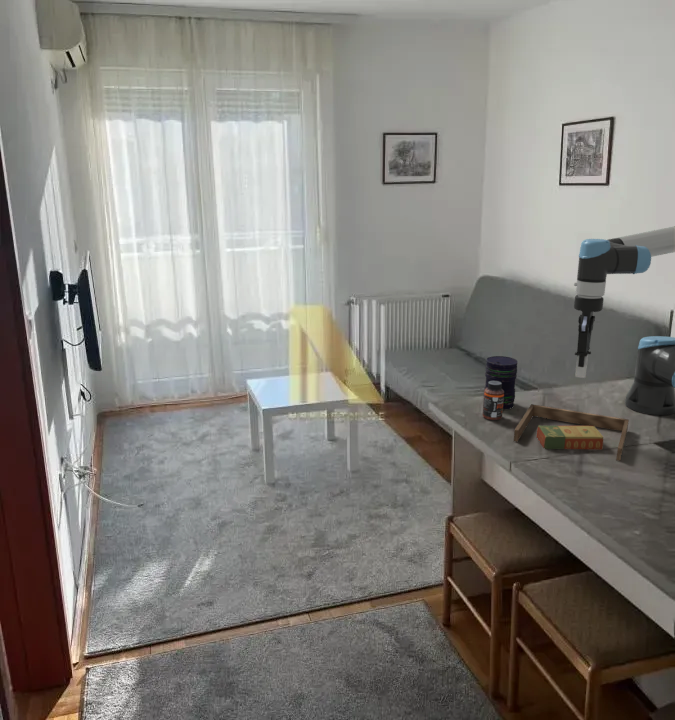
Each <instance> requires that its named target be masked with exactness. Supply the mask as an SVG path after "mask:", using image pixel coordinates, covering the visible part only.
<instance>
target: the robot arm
mask: <svg viewBox="0 0 675 720" xmlns="http://www.w3.org/2000/svg"><path fill="white" fill-rule="evenodd" d="M672 253H675V226H669V227H665V228H659V229H654V230H650V231H645V232H639V233H634V234H630V235H625V236H620V237H615V238H609V239H605V238H604V239H602V238H586V239H584V240H582V241H581V244H580V248H579V254H578V265H577V276H576V277H577V278H576V282H574V284H573V286H575V287H576V288H575V294H576V295H575V297H574V303H573V308H574V309H575V310H576V311H580V312H581V314H579V315H580V316H578V321H577V322H578V326H577V327H578V329H577V330H578V336H577V351H576V352H575V353H574V355H575V356H577V357H576V364H575V365H576V366H575V371H574V372H575V374H574V377H575V378H581V379H586V377H587V375H586V374H587V366H588V359H589V355H592V352H591V351H590V349H591V348H590V347H591V346H590V345H591V338H592V332H593V329H594V323H595V319H596V315H594V313H598V312H601V311H603V307H604V297H603V296H605V293H606V285H607V283H606V282H607V275H614V274H615V275H624V274H625V275H628V274H629V275H630V274H631V275H635V274H643V273H646V272H647V271H648V270H649V268H650V267H651V264H652V263H651V262H652V257H657V256H662V255H666V254H667V255H668V254H672ZM624 400H625V401H624V404H625V406H626V407H627V408H629V409H630V410H633V411H634V412H638V413H642V414H647V415H653V416H668V415H673V414H675V337H674V336H665V335H664V336H660V335H655V336H653V335H652V336H651V335H650V336H644V337H642V338H641V339H640V340H639V343H638V346H637V356H636V362H635V370H634V379H633V382H632V385H631V386H630V388H629V390H628V392H627V394H626V396H625V399H624Z"/></svg>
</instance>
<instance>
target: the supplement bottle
mask: <svg viewBox="0 0 675 720" xmlns="http://www.w3.org/2000/svg"><path fill="white" fill-rule="evenodd" d="M501 387H502V383H501V382H499V381H489V382H488V388H486V389H485V391H484V390H483V402H484V403H483V405H482V417H483V418H484V419H486V420H490V421H498V420H501V419H502V418H503V411H504V410H503V401H504V390H503V389H502V388H501Z"/></svg>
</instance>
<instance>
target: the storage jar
mask: <svg viewBox="0 0 675 720" xmlns="http://www.w3.org/2000/svg"><path fill="white" fill-rule="evenodd" d="M485 362H486V363H485V369H484V371H485V373H484V375H485V385H484V389H483V392H484V391H485V389H486V388H488V382H489V381H499V382H501V383H502V387H501V388H502V389H503V390H504V401H503V409H508V410H511V409H513V408H514V407H513V406H515V403H514V402H515V400H516V399H515V397H516V389H515V387H516V379H517V377H518V376H517V373H518V360H517V359H516V358H513V357H510V356H502V355H495V356H489V357H487V358H486V361H485ZM483 403H484V401H483ZM512 407H513V408H512ZM510 408H511V409H510Z"/></svg>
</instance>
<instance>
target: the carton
mask: <svg viewBox="0 0 675 720" xmlns="http://www.w3.org/2000/svg"><path fill="white" fill-rule="evenodd" d="M536 430H537V431H536V439H537V438H538V439H537V440H538V442H539V441H540V442H539V443H540V445H541V446H542V448H543V449H544V448H545V449H544V450H599V451H600V450H603V449H604V447H603V446H604V435H602V434H601V432H600V431H599V430H598V429H597V428H596V427H594V426H588V425H538V426H537V429H536Z"/></svg>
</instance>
